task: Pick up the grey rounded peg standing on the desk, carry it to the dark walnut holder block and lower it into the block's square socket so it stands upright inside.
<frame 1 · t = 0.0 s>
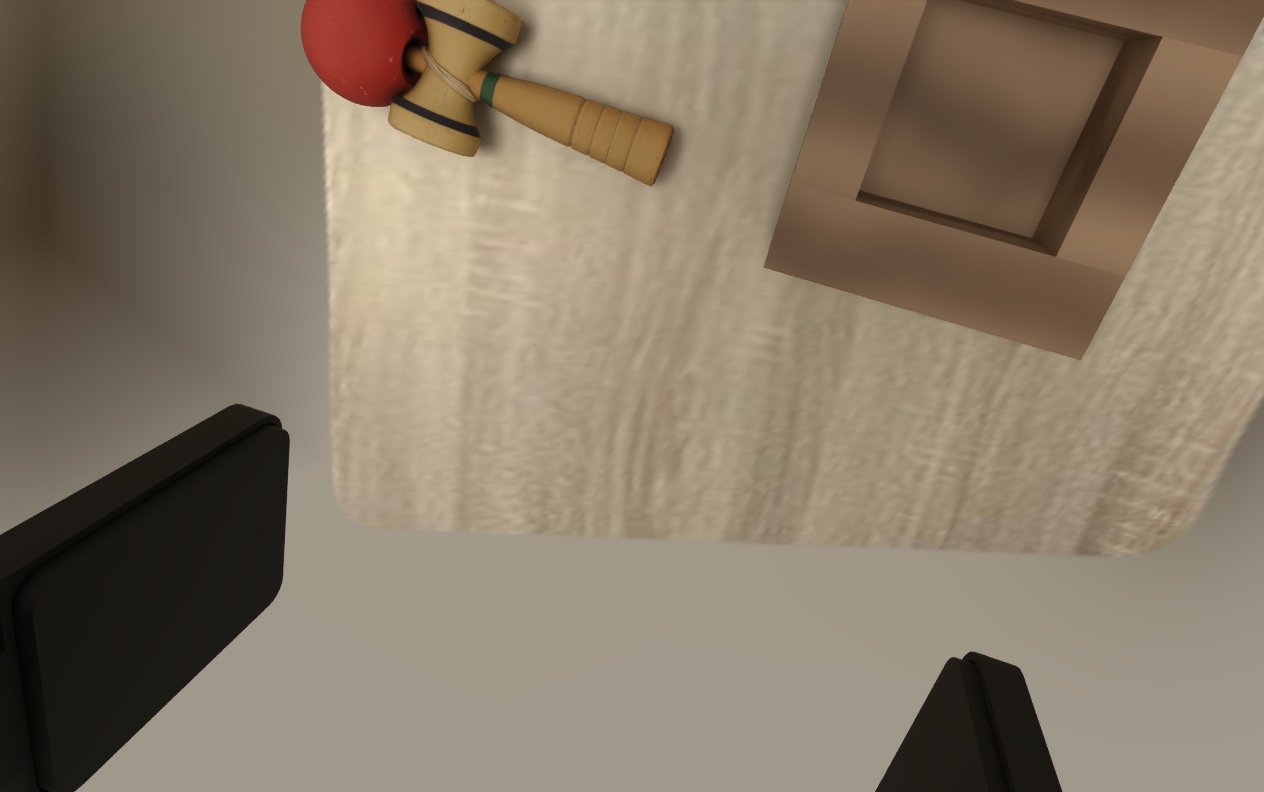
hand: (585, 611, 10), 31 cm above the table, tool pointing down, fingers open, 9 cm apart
kendama: (510, 84, 39), on the table
socket block: (975, 118, 35), on the table
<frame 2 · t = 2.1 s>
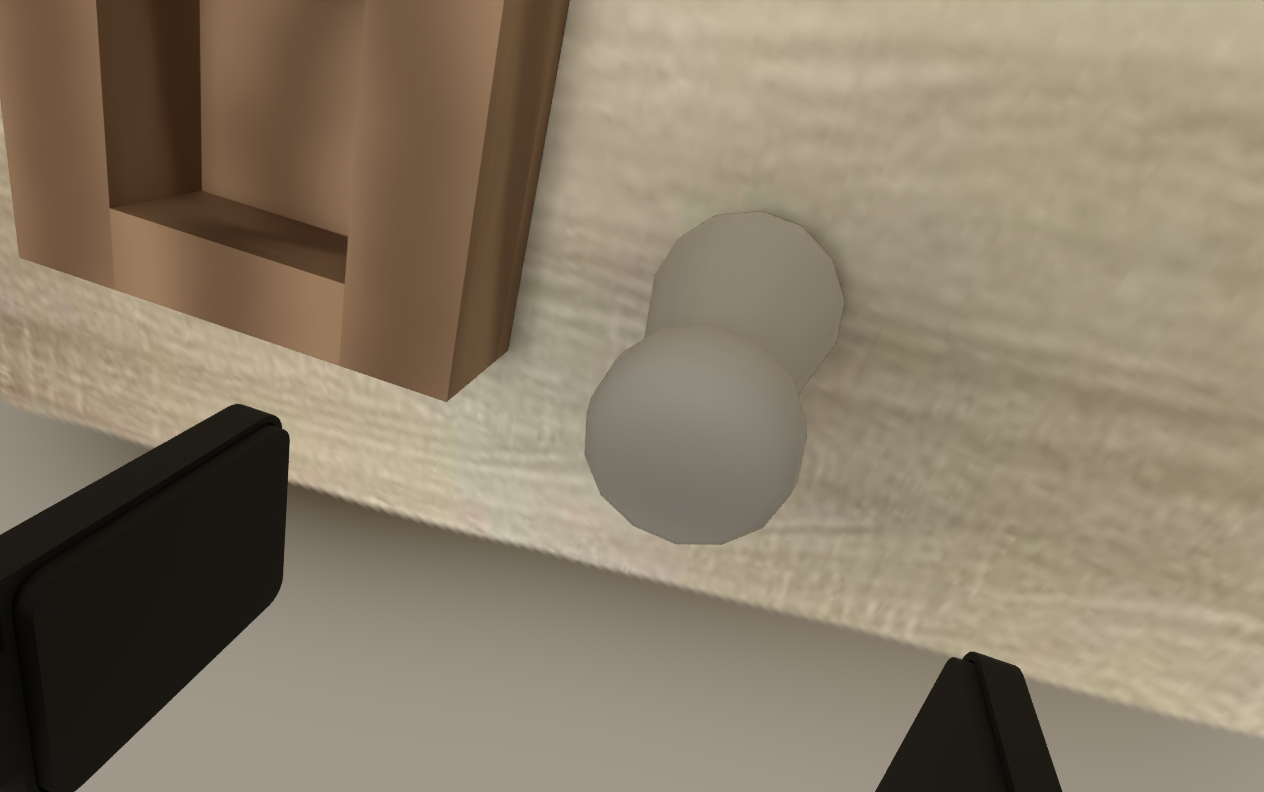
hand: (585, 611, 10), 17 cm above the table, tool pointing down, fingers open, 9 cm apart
grey rounded peg: (753, 286, 26), on the table
socket block: (327, 100, 27), on the table
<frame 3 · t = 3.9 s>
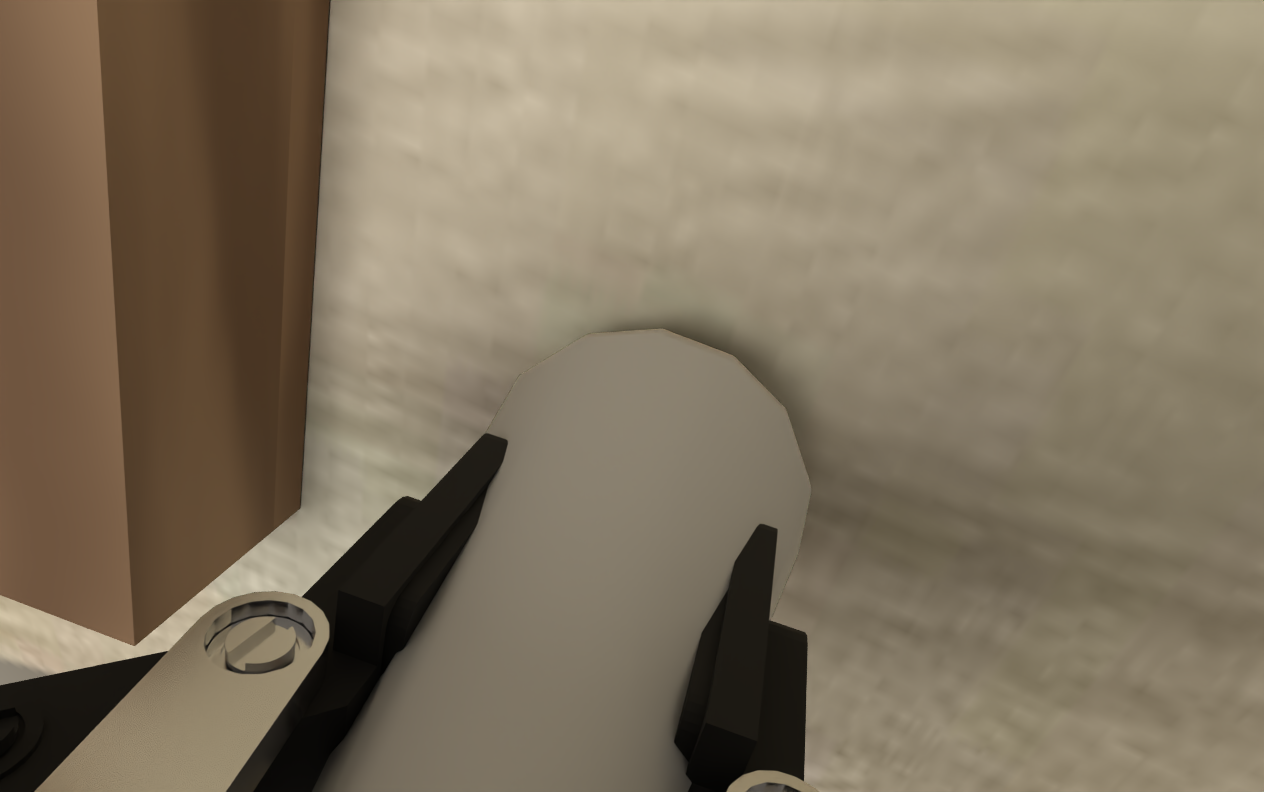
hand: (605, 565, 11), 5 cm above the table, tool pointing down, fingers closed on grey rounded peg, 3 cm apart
grey rounded peg: (667, 428, 16), on the table, touching gripper
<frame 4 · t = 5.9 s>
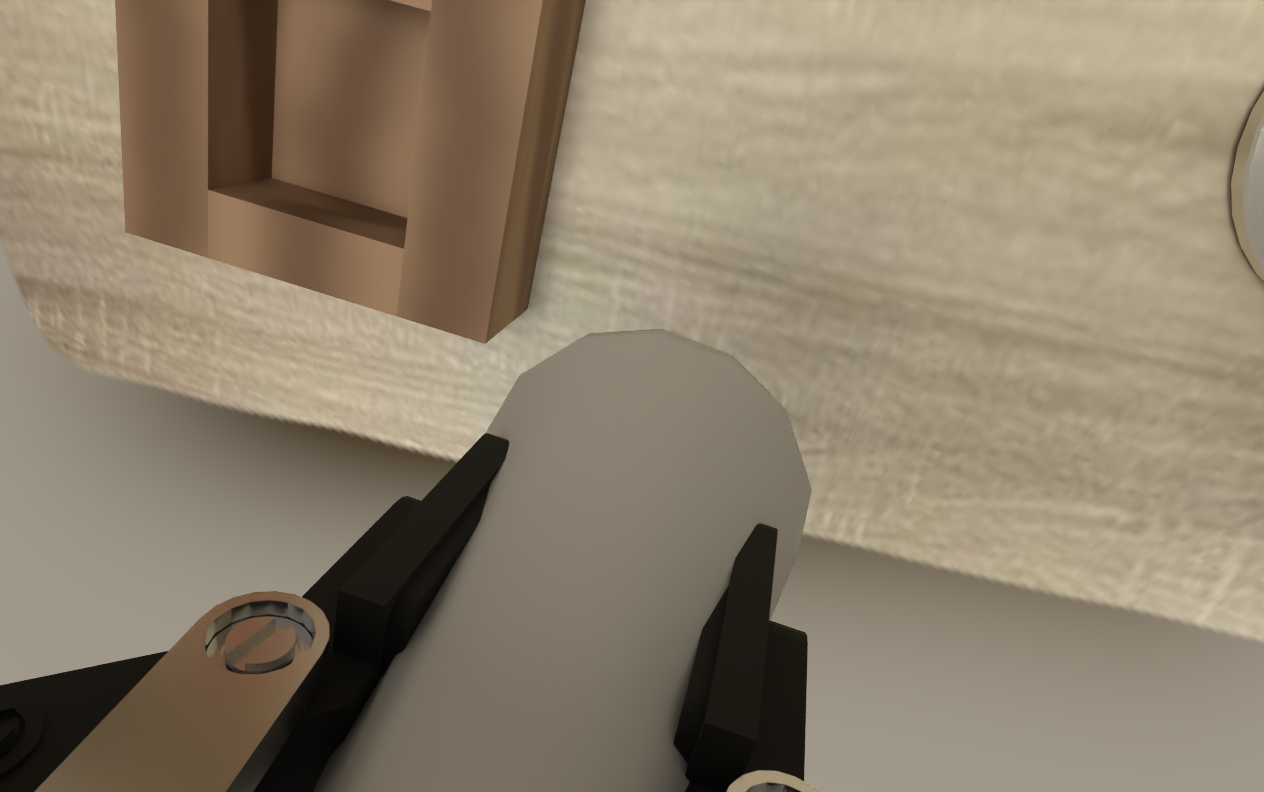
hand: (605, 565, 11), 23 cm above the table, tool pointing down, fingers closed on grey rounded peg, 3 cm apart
grey rounded peg: (667, 428, 16), point 18 cm above the table, touching gripper
socket block: (379, 103, 33), on the table
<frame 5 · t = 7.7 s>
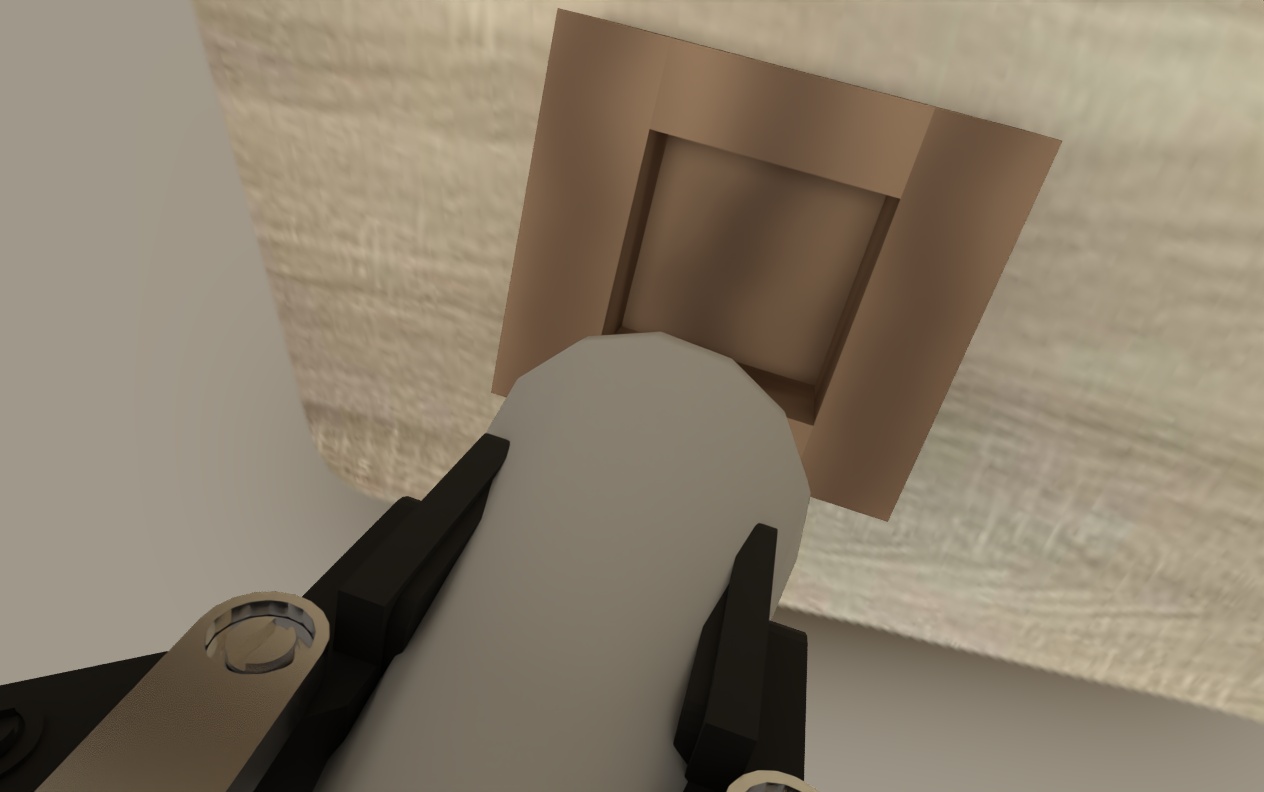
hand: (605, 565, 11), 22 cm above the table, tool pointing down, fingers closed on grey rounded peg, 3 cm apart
grey rounded peg: (666, 431, 16), point 17 cm above the table, touching gripper
socket block: (748, 254, 31), on the table
when the fingers open (7 cm above the table, at t = 10.0 s): grey rounded peg stays where it is, resting on socket block.
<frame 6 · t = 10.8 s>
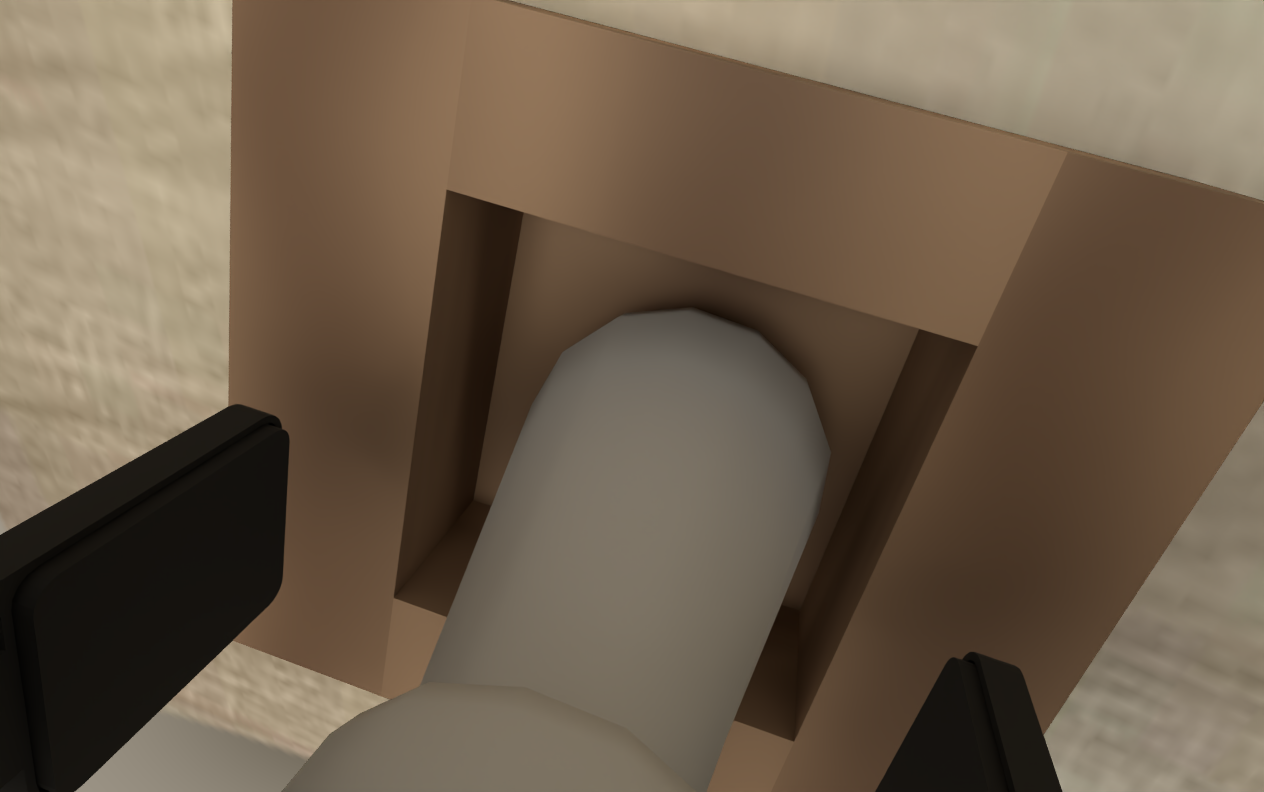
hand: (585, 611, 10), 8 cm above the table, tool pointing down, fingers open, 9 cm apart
grey rounded peg: (694, 404, 17), point 1 cm above the table, touching socket block
socket block: (683, 387, 18), on the table
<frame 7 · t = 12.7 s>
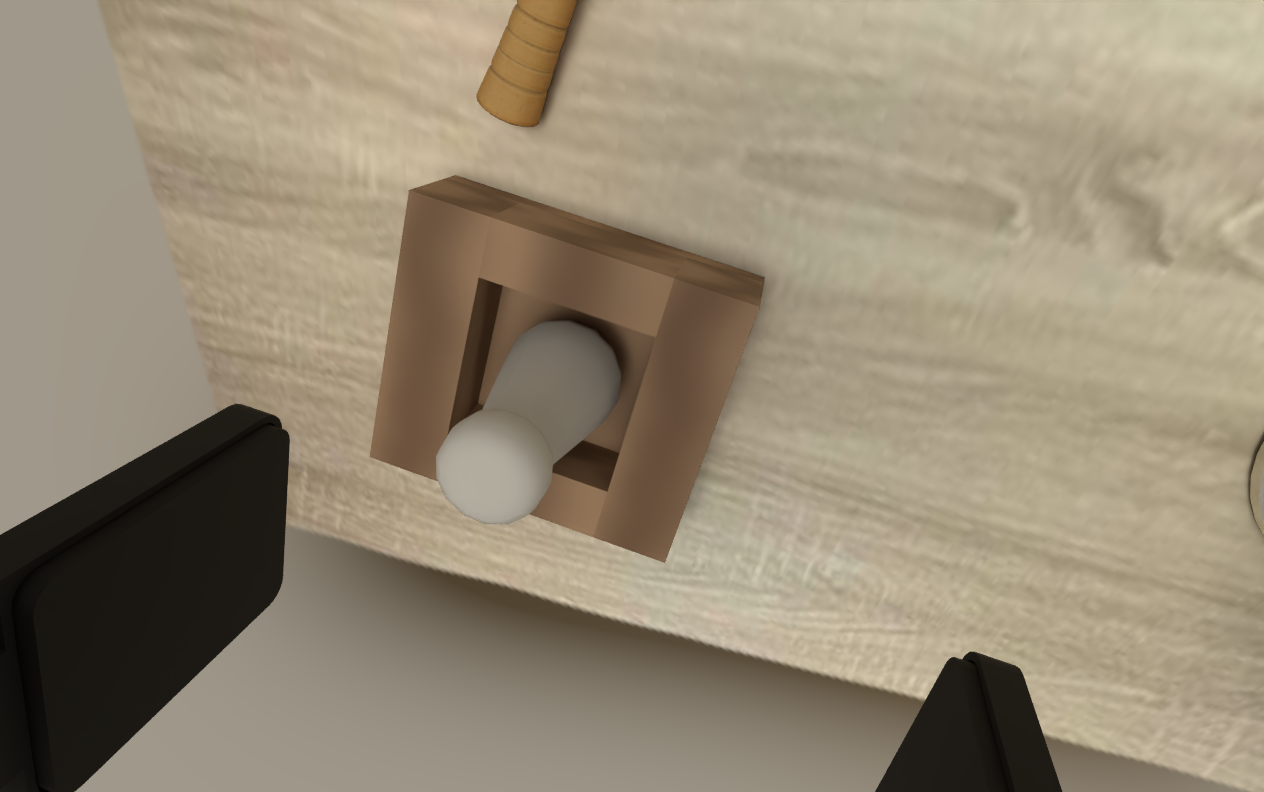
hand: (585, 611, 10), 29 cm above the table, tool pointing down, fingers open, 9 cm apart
grey rounded peg: (576, 359, 40), point 1 cm above the table, touching socket block
socket block: (573, 353, 41), on the table
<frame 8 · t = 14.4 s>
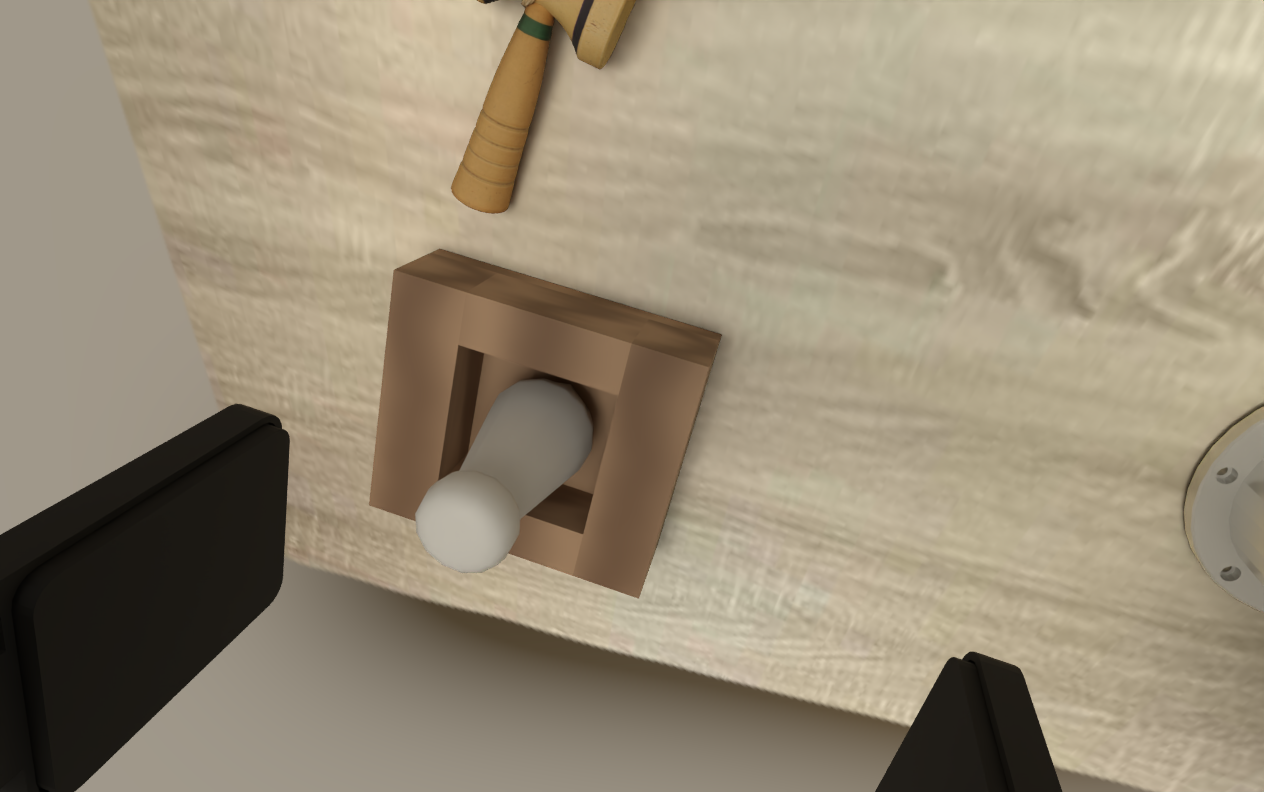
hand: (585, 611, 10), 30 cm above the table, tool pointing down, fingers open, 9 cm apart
grey rounded peg: (555, 412, 43), point 1 cm above the table, touching socket block
kendama: (559, 27, 37), on the table
socket block: (553, 405, 44), on the table
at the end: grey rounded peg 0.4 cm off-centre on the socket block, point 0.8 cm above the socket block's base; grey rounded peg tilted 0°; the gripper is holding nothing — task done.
